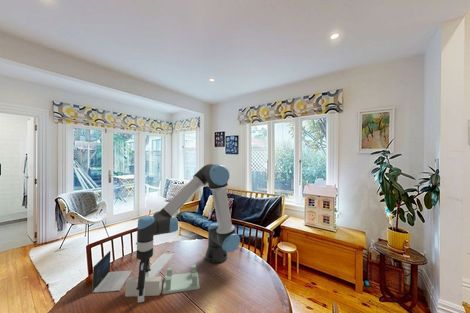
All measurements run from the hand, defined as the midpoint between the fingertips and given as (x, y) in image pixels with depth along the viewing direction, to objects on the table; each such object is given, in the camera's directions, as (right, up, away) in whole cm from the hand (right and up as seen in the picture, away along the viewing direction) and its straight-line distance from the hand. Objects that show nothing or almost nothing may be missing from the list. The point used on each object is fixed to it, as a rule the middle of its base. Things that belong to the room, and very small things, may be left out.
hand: (143, 292), depth 99 cm
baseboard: (-4, -1, +26) cm, 26 cm away
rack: (+16, -1, +8) cm, 19 cm away
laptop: (-20, 0, +9) cm, 22 cm away
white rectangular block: (0, 0, 0) cm, 0 cm away
